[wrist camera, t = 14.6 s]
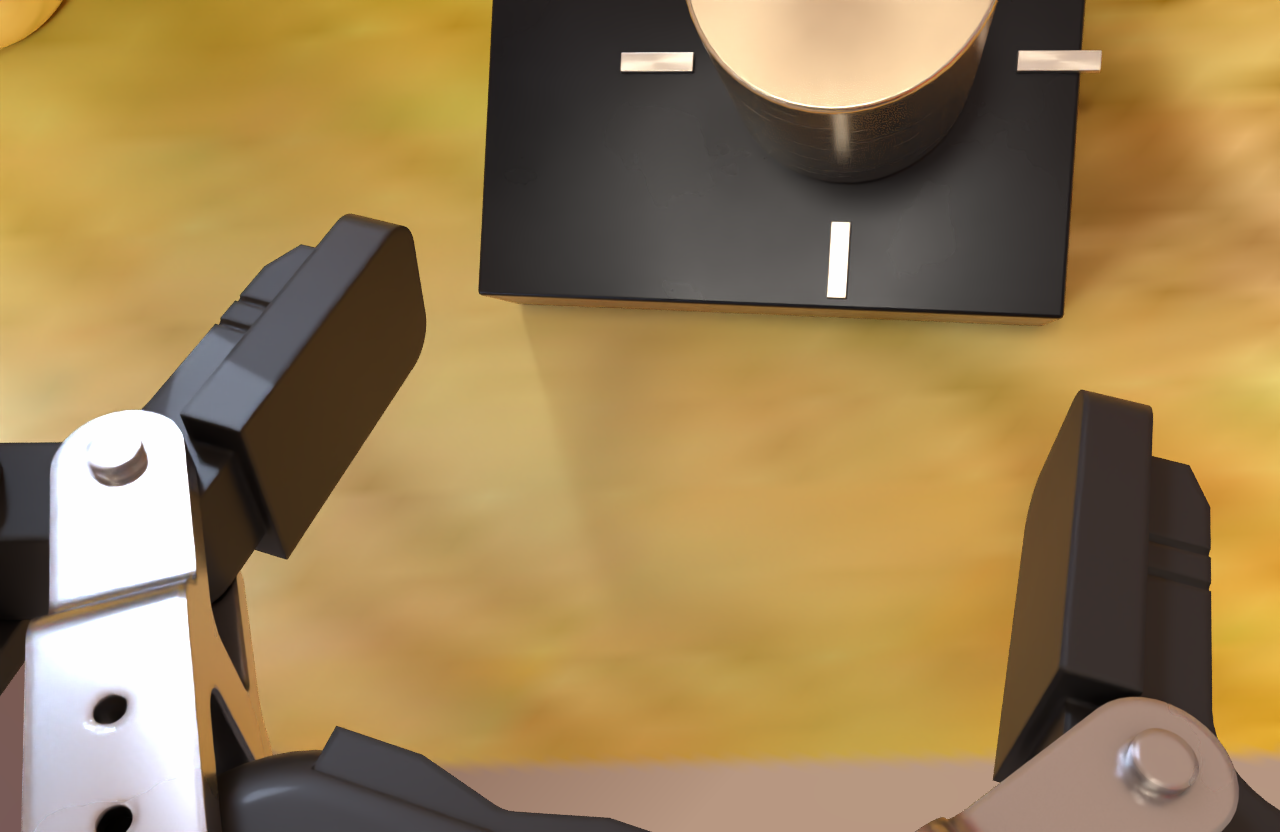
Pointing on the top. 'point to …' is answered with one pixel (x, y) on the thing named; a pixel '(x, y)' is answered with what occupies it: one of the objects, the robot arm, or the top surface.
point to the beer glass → (23, 18)
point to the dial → (846, 76)
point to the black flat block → (766, 179)
